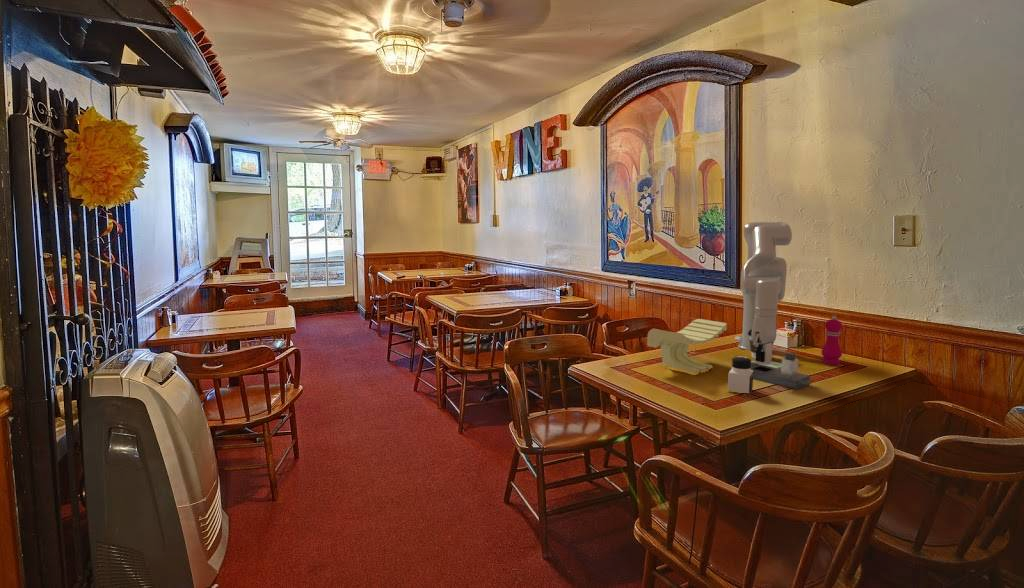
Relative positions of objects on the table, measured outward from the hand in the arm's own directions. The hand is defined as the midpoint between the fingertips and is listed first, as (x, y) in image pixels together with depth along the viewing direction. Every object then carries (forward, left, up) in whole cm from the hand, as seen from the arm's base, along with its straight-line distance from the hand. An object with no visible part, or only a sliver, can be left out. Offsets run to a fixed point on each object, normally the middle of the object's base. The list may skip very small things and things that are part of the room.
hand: (763, 359), depth 206 cm
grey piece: (+3, 0, -7) cm, 8 cm away
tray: (-6, +13, -7) cm, 16 cm away
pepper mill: (+7, +40, -7) cm, 41 cm away
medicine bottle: (+3, -20, -7) cm, 21 cm away
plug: (0, 0, -1) cm, 1 cm away
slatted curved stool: (-26, -11, -7) cm, 29 cm away
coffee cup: (-15, +25, -7) cm, 30 cm away
